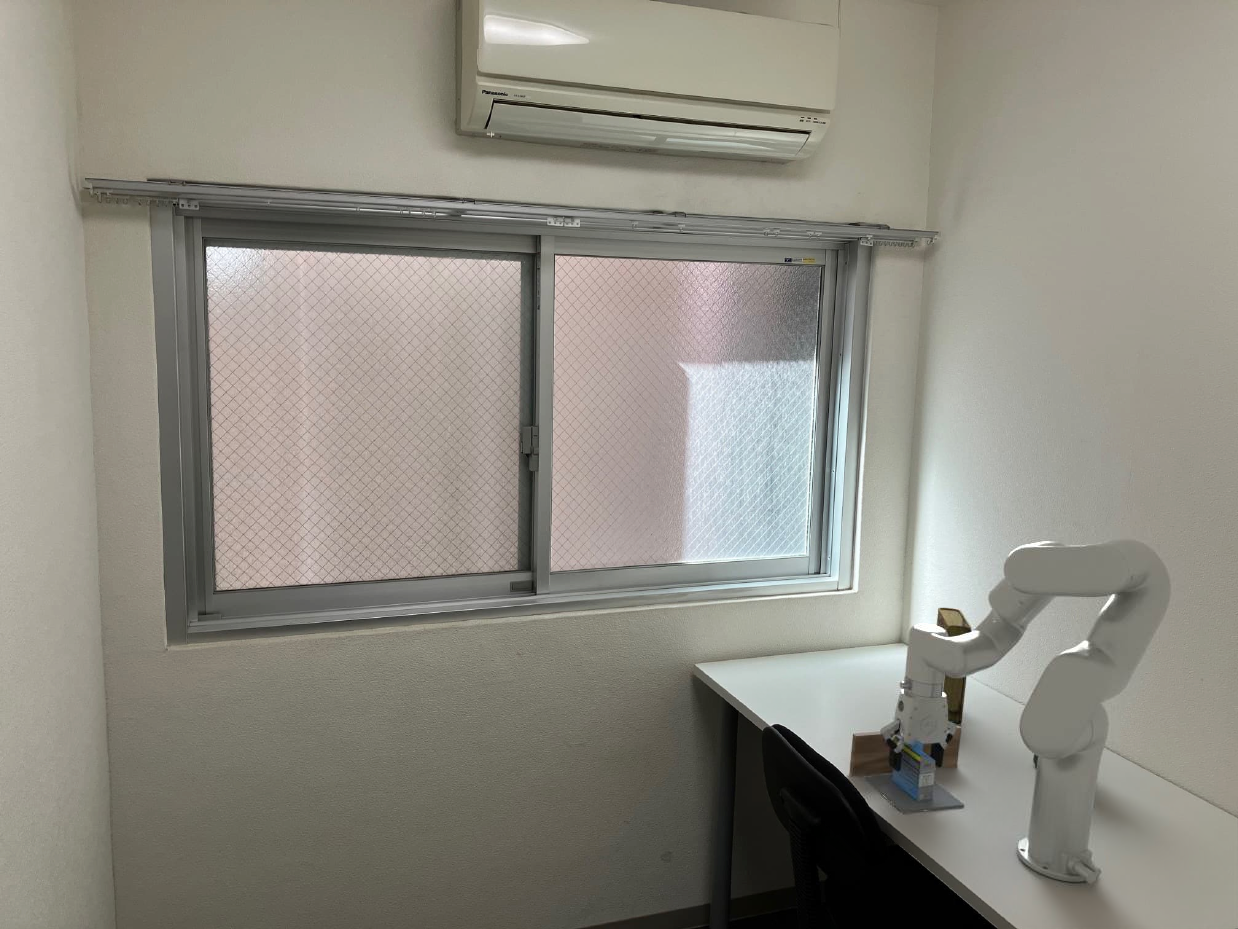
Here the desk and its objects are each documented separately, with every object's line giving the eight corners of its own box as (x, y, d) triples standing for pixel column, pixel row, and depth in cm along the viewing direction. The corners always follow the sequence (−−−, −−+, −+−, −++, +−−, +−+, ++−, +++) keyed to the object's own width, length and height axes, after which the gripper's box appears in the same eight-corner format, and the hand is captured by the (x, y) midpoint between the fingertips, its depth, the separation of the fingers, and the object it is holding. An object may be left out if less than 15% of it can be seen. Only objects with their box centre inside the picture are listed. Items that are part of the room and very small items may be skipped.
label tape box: (933, 800, 175) (939, 742, 174) (916, 802, 174) (922, 744, 173) (906, 779, 184) (912, 723, 182) (890, 781, 183) (895, 725, 181)
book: (928, 698, 230) (937, 606, 227) (949, 701, 229) (959, 609, 226) (937, 724, 214) (947, 625, 211) (961, 727, 213) (971, 628, 210)
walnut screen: (957, 766, 192) (961, 727, 191) (852, 776, 185) (856, 736, 184) (953, 764, 193) (957, 725, 192) (849, 773, 186) (853, 733, 185)
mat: (963, 806, 174) (964, 804, 174) (902, 813, 171) (902, 811, 171) (921, 773, 188) (921, 771, 188) (864, 779, 184) (864, 776, 184)
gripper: (896, 696, 170) (888, 778, 172) (972, 691, 175) (963, 771, 177) (875, 681, 177) (868, 761, 180) (948, 677, 182) (940, 754, 184)
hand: (915, 766), depth 178 cm, fingers open, 9 cm apart
